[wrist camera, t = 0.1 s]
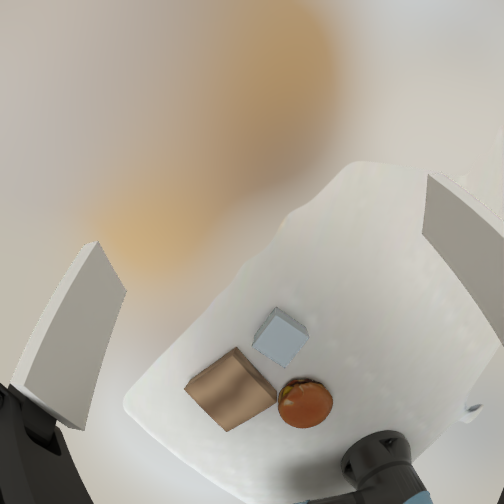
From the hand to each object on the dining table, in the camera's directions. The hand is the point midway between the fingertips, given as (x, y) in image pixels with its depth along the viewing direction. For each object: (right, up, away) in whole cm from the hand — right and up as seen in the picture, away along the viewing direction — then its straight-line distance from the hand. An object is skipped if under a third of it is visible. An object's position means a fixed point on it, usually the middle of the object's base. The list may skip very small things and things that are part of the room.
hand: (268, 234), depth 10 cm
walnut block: (-4, -24, +37) cm, 44 cm away
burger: (+9, -27, +36) cm, 46 cm away
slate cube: (+4, -14, +36) cm, 39 cm away
